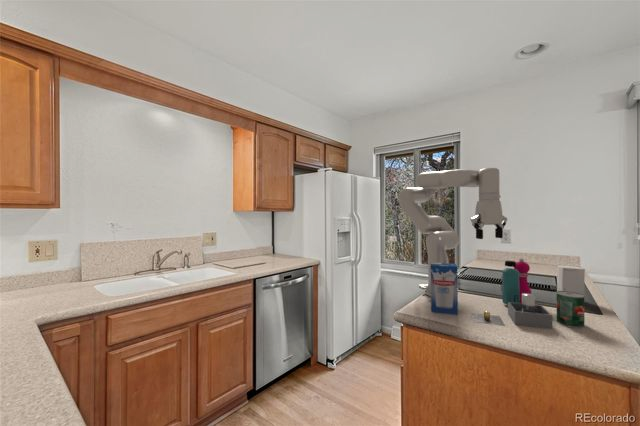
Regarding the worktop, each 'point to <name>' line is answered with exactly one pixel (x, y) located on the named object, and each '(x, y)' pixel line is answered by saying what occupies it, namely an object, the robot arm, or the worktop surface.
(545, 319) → the bin
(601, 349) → the worktop surface
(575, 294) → the canned tomato
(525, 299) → the silver rounded piece
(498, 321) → the stud plate
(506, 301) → the beverage bottle
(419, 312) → the worktop surface
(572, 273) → the skincare box
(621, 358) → the worktop surface
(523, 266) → the pepper mill
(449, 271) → the milk carton
